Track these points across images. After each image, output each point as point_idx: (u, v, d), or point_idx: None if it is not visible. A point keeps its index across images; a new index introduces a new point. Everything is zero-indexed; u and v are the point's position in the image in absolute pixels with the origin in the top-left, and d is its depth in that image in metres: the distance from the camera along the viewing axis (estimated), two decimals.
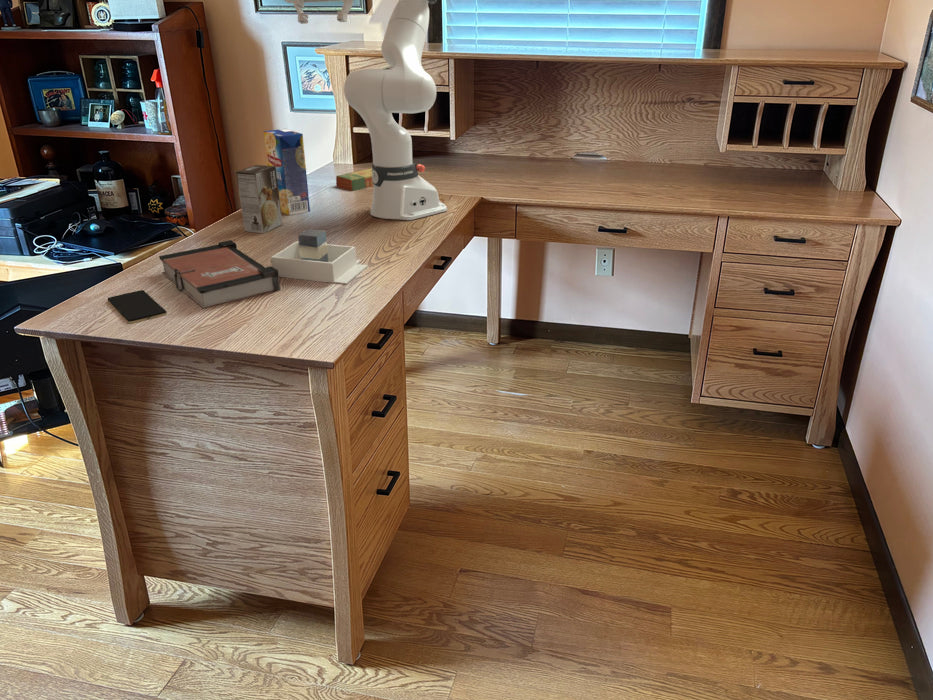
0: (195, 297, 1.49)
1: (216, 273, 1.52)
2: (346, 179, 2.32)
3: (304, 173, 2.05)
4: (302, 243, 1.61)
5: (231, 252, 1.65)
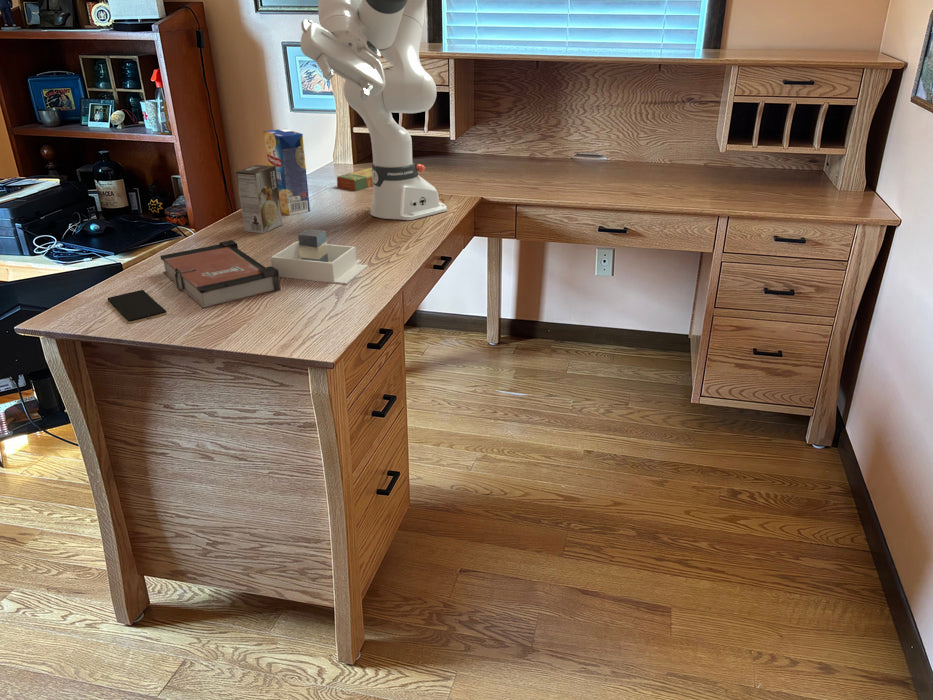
0: (195, 297, 1.49)
1: (216, 273, 1.52)
2: (348, 179, 2.32)
3: (304, 173, 2.05)
4: (302, 243, 1.61)
5: (232, 252, 1.65)
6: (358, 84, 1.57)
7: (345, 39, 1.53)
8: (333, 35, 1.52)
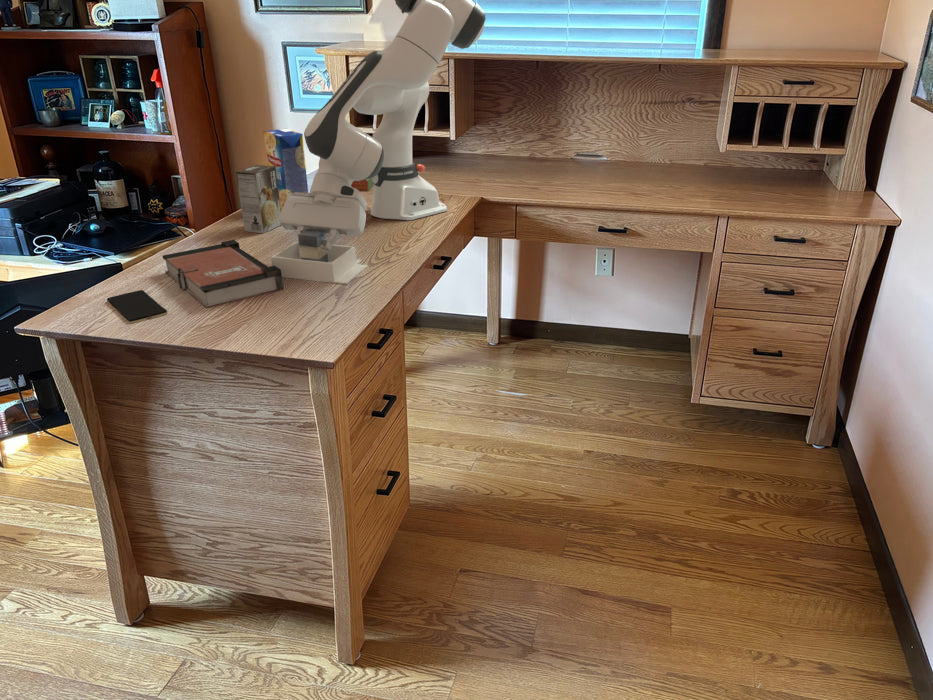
0: (198, 296, 1.50)
1: (219, 273, 1.53)
2: None
3: (304, 173, 2.05)
4: (302, 243, 1.61)
5: (234, 252, 1.65)
6: None
7: (315, 199, 1.65)
8: (309, 198, 1.66)
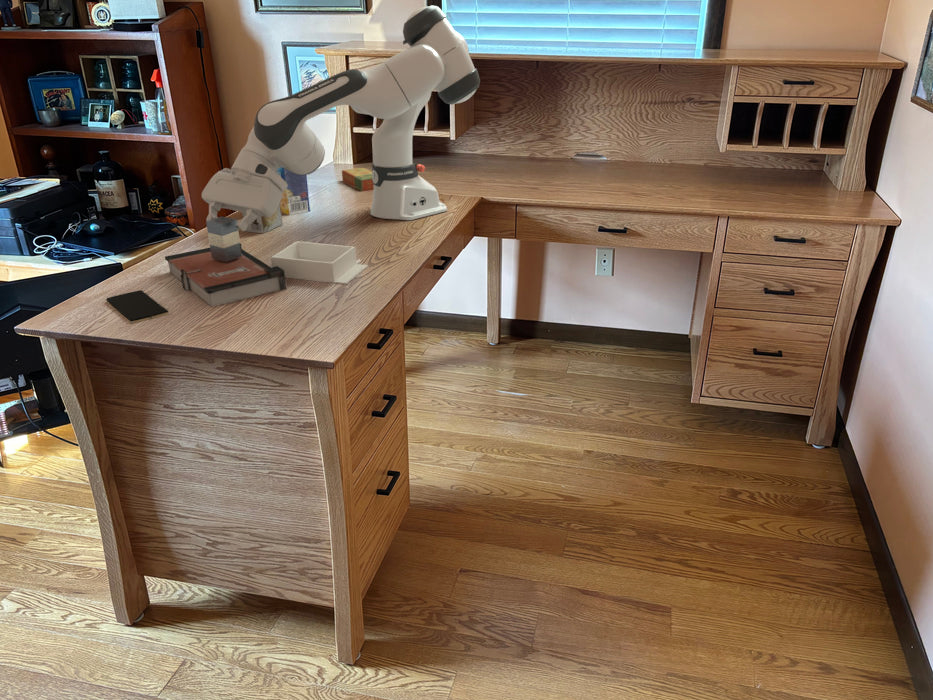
0: (202, 297, 1.50)
1: (222, 274, 1.53)
2: None
3: None
4: (210, 230, 1.57)
5: None
6: None
7: (233, 176, 1.59)
8: (231, 175, 1.61)
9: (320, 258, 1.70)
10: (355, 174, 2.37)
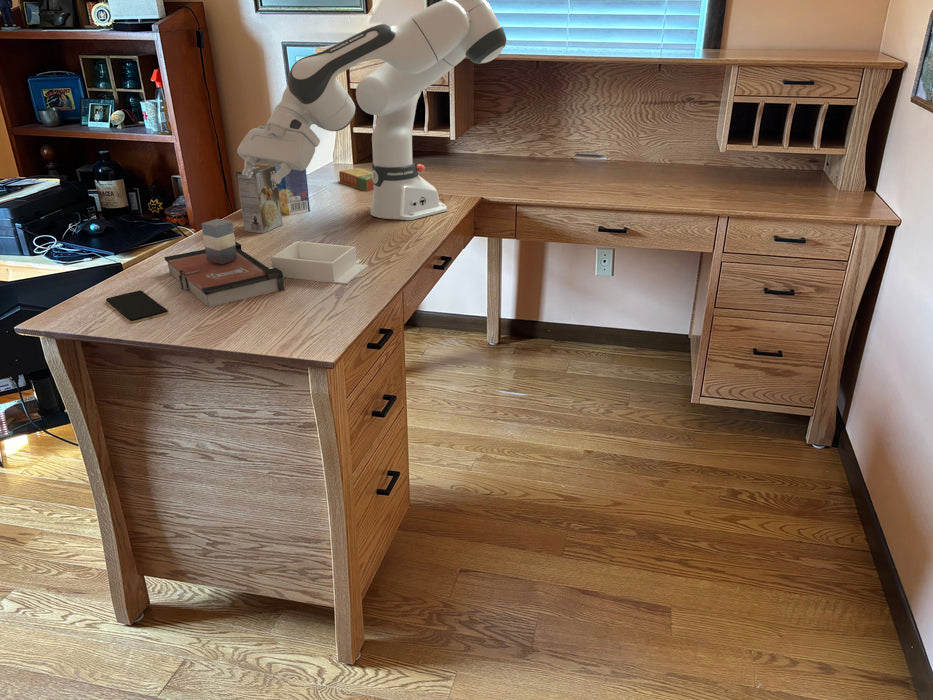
0: (200, 298, 1.50)
1: (220, 275, 1.53)
2: None
3: (304, 173, 2.05)
4: (205, 232, 1.56)
5: None
6: None
7: (268, 132, 1.66)
8: (266, 131, 1.68)
9: (320, 258, 1.70)
10: (356, 174, 2.36)
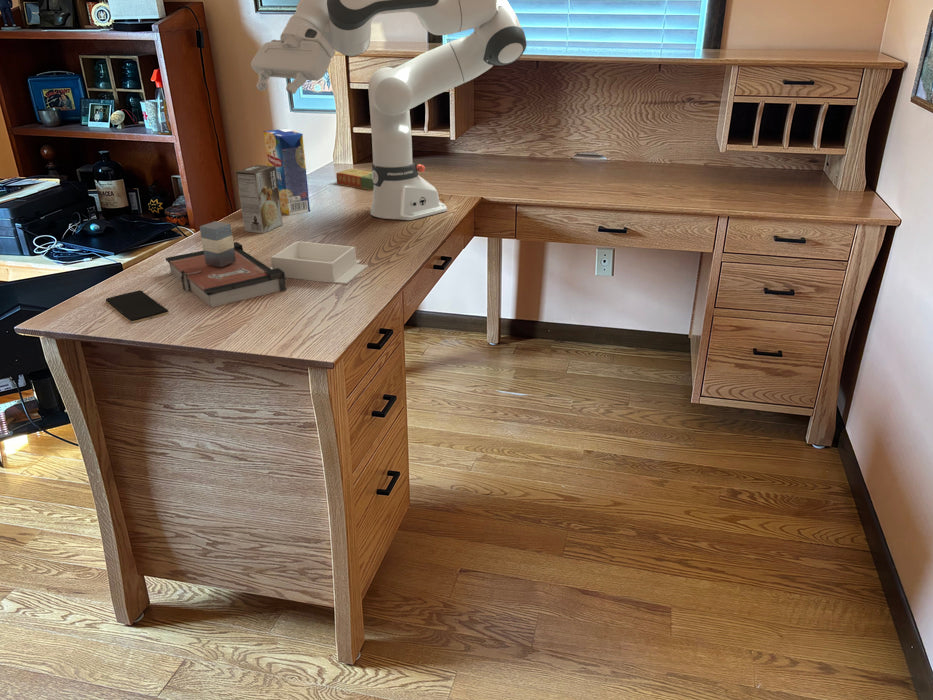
0: (202, 299, 1.50)
1: (222, 275, 1.53)
2: None
3: (304, 173, 2.05)
4: (203, 235, 1.54)
5: (237, 254, 1.65)
6: None
7: (283, 43, 1.65)
8: (280, 43, 1.67)
9: (320, 258, 1.70)
10: (357, 175, 2.36)
